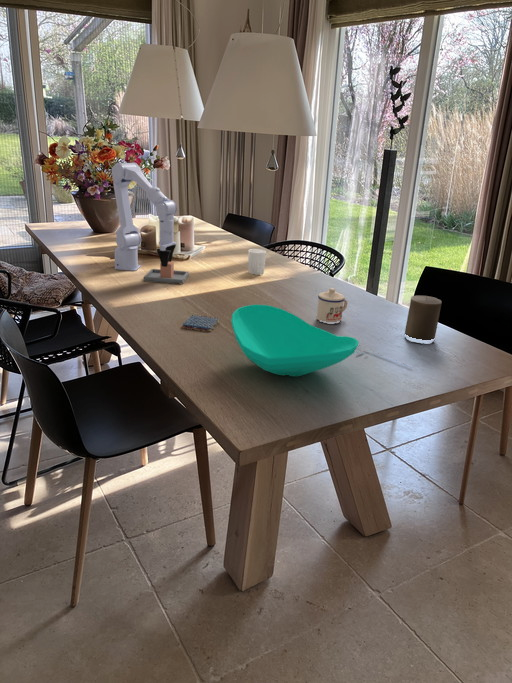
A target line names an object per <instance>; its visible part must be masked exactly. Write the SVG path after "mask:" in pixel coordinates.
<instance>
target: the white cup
mask: <svg viewBox="0 0 512 683" xmlns="http://www.w3.org/2000/svg"><path fill="white" fill-rule="evenodd" d="M247 252H248V256H247V261H248V263H247V264H248V266H247V267H248V273H249V275H253V274H255V276H259V275H260V274H261V275H263V274H264V272H265V267H266V257H267V250H265V249H261V248H250V249H248V251H247Z"/></svg>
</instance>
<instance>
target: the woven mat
mask: <svg viewBox="0 0 512 683" xmlns="http://www.w3.org/2000/svg"><path fill="white" fill-rule="evenodd" d="M219 321H220V319H219V318H216V317H214V318H213V317H208V316H202V315H201V316H200V315H194V314H192V315H190V316H189V317H187V319H186V320H185V321H184V322H183V324H182V326H181V328H182V329H186V328H187V329H186V330H192V329H194V331H200V330H202V331H201V332H207V331H208V332H207V333H212V331H213V330H214V329H215V328H216V327H217V326H218V324H219V323H220V322H219ZM203 329H204V330H203Z"/></svg>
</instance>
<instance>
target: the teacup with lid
mask: <svg viewBox="0 0 512 683" xmlns="http://www.w3.org/2000/svg"><path fill="white" fill-rule="evenodd" d="M317 297H318V301H317V302H318V303H317V312H316V319H317V318H318V319H319V320H322V321H326V322H337V321H340V320H341V321H342V317H343V313H344V312H345V311H346V309H347V306H348V300H347V299H346V298H345V296H344V295H343V294H341V293H339V292H337V291H336V289H335V288H333V287H330V288H329V289H328V290H326V291H323V292H320V293H319V294H318V296H317Z"/></svg>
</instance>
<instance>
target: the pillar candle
mask: <svg viewBox="0 0 512 683" xmlns="http://www.w3.org/2000/svg"><path fill="white" fill-rule="evenodd" d="M409 302H410V303H409V306H408V307H409V308H408V311H407V312H408V314H407V319H406V323H405V324H406V325H405V328H404V335H405V334H406V335H408V336H409V337H412V338H416V339H422V340H431V339H434V338H435V339H436V335H437V328H438V325H439V324H438V323H439V318H440V312H441V308H442V300H441V299H438V298H437V297H433V296H428V295H412V296H411V297H410V301H409Z"/></svg>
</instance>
